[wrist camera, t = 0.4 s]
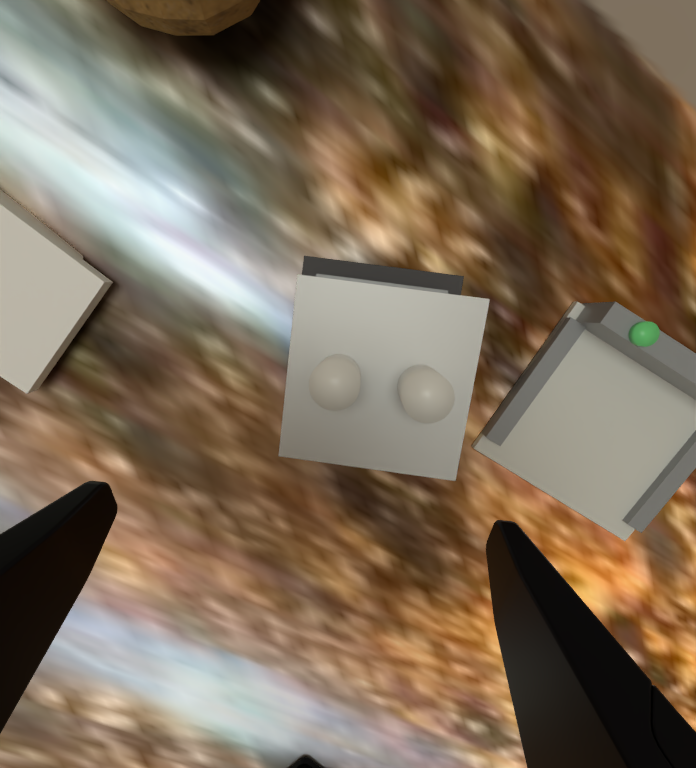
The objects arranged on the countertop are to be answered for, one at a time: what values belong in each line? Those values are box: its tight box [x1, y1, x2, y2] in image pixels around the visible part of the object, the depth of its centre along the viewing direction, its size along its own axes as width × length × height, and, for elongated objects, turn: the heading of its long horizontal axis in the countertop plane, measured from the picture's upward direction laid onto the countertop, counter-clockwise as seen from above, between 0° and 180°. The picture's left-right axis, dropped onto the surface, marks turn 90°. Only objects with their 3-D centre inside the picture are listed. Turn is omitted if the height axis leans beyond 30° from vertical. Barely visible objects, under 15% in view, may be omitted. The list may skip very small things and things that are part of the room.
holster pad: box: [302, 256, 464, 295], centre depth 23 cm, size 9×9×1 cm
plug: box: [279, 274, 490, 481], centre depth 16 cm, size 7×7×14 cm
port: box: [472, 302, 696, 541], centre depth 22 cm, size 10×11×3 cm
